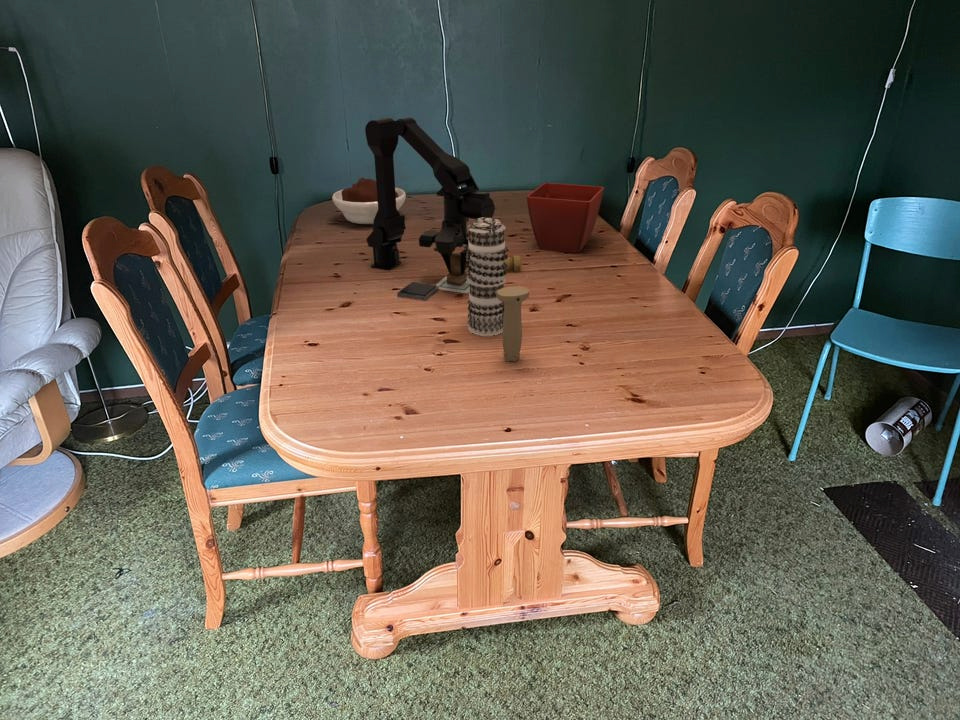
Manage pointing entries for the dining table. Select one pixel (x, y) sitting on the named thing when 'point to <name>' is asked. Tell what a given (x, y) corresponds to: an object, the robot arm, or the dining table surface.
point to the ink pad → (418, 291)
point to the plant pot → (563, 215)
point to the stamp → (456, 271)
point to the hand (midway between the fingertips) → (456, 273)
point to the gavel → (513, 264)
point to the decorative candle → (486, 275)
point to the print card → (454, 286)
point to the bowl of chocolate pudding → (362, 201)
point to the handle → (512, 320)
